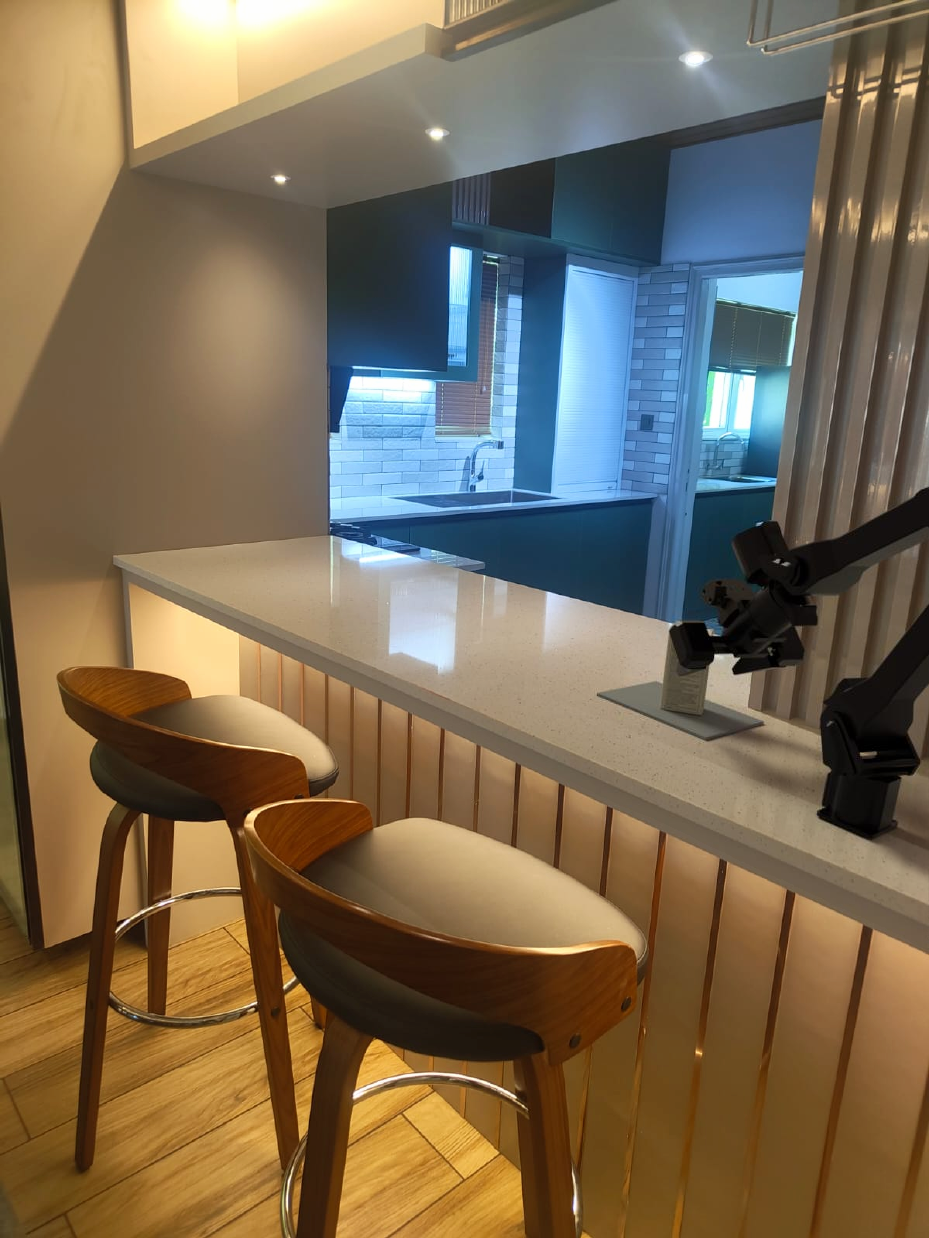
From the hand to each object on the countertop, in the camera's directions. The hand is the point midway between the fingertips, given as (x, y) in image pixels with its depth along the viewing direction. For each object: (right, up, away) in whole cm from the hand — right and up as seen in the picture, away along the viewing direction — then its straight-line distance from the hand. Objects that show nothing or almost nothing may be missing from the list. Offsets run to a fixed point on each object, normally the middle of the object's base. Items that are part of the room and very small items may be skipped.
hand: (706, 672), depth 124 cm
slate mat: (-2, -6, +7) cm, 9 cm away
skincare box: (-2, -6, +6) cm, 9 cm away
